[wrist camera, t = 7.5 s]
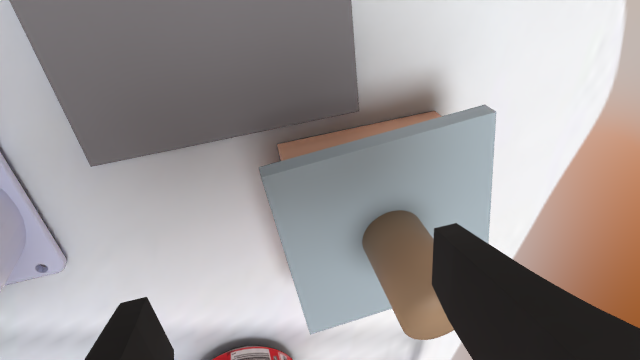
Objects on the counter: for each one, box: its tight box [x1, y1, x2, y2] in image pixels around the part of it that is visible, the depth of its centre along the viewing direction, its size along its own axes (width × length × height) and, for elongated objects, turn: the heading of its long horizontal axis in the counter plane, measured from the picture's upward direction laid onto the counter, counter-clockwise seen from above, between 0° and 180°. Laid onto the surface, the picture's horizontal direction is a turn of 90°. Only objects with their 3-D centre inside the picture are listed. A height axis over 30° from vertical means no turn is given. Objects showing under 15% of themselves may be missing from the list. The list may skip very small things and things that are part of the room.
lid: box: [259, 105, 496, 340], centre depth 17 cm, size 10×10×5 cm
